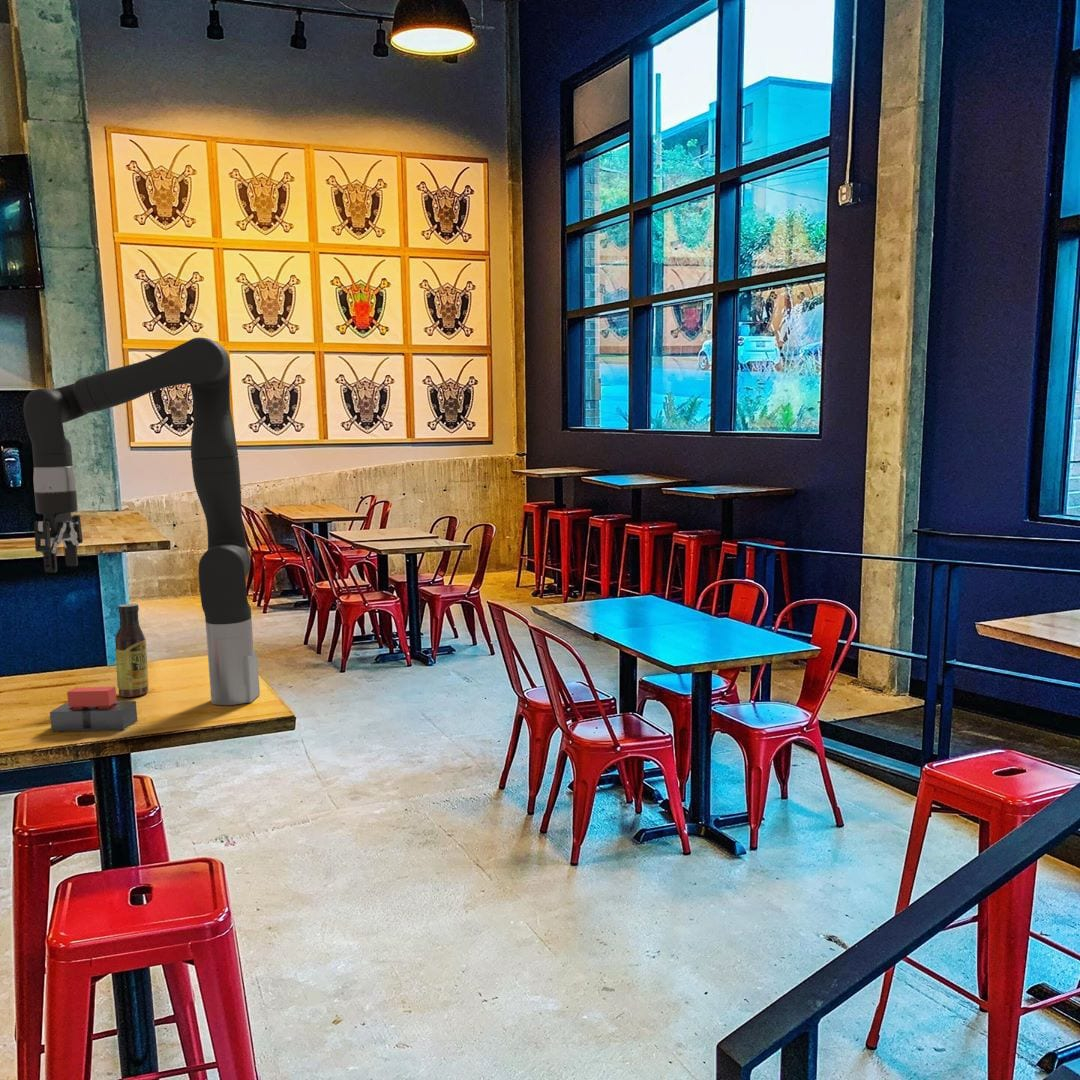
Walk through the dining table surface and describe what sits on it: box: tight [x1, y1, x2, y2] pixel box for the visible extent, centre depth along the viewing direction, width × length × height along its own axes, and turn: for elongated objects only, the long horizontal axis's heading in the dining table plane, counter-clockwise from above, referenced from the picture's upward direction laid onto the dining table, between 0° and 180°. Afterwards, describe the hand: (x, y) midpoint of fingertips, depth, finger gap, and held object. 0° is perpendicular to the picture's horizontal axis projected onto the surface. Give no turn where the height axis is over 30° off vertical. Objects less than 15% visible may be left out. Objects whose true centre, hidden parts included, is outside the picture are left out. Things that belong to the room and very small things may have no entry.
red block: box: [66, 686, 118, 709], centre depth 184 cm, size 8×3×7 cm, turn 89°
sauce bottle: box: [114, 603, 150, 698], centre depth 205 cm, size 6×6×20 cm
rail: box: [49, 700, 138, 732], centre depth 184 cm, size 14×6×4 cm, turn 89°
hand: (61, 569), depth 192 cm, fingers open, 8 cm apart
